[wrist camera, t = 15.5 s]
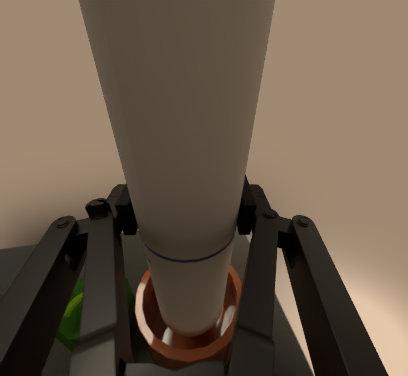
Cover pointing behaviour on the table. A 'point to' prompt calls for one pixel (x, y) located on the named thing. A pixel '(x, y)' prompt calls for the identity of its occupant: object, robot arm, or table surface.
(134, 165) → the cylindrical container
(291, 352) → the table surface
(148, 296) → the crock
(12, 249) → the table surface
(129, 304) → the bell pepper
